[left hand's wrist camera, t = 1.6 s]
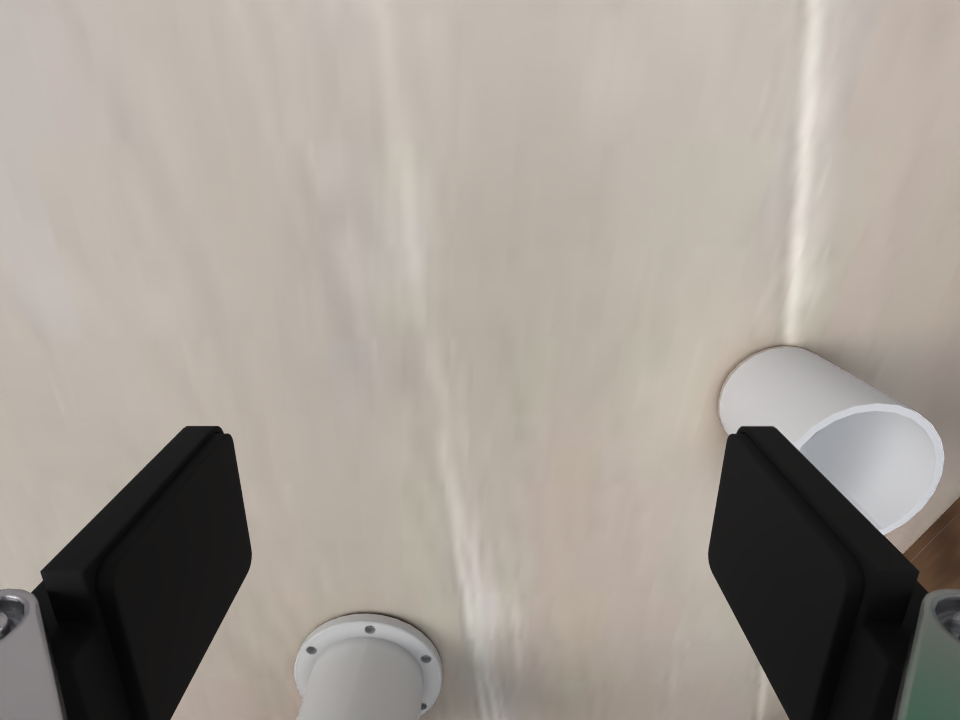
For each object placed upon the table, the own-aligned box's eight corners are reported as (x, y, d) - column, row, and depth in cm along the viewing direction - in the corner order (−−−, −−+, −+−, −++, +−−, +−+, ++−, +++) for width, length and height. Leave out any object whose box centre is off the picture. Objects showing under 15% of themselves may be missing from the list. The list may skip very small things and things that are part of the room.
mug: (787, 312, 40) (884, 370, 30) (863, 395, 42) (975, 474, 33) (661, 418, 43) (714, 502, 33) (738, 491, 45) (808, 589, 35)
